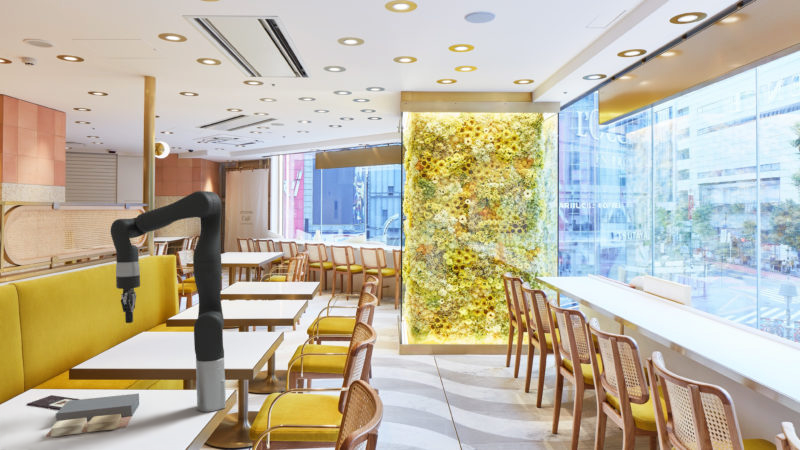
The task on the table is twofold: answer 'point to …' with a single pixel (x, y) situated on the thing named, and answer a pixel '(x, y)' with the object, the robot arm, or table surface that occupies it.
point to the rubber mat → (122, 424)
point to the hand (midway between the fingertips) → (129, 322)
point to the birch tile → (68, 427)
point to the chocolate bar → (51, 402)
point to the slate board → (99, 407)
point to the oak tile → (104, 422)
